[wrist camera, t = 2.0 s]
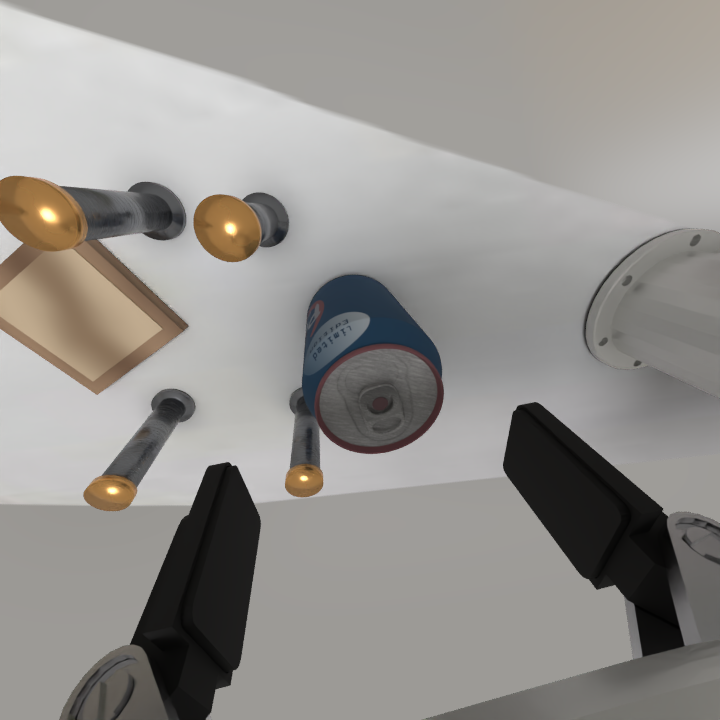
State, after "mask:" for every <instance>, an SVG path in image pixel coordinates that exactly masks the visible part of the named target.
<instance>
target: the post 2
mask: <svg viewBox="0 0 720 720" xmlns="http://www.w3.org/2000/svg"><path fill="white" fill-rule="evenodd" d="M151 406H152V410H153V412H152V413H151V415H150V416H149V417H148V418H147V420H146V421H145V422H144V423H143V425H142V426H141V427H140V428H139V430H138V431H137V432H136V433H135V435H134V436H133V437H132V438H131V440H130V441H129V442H128V443H127V445H126V446H125V447H124V448H123V450H122V451H121V452H120V453H119V455H118V456H117V457H116V458H115V460H114V461H113V462H112V463H111V465H110V466H109V467H108V468H107V470H106V471H105V472H104V473H103V475H102V476H99V477H97V478H95V479H94V480H93V481H92V482H91V484H90V485H89V486H88V487H87V488H86V490H85V491H84V495H83V496H84V499H85V501H86V502H87V503H88V504H90V505H91V506H93V507H95V508H97V509H100V510H104V511H119V510H123V509H125V508H127V507H128V506H129V505H130V504H131V502H132V501H133V499H134V498H135V496H136V494H137V486H138V485H139V483H140V482H141V480H142V478H143V477H144V475H145V474H146V472H147V471H148V469H149V468H150V466H151V464H152V463H153V461H154V460H155V458H156V457H157V455H158V454H159V452H160V450H161V449H162V447H163V446H164V444H165V443H166V441H167V440H168V438H169V436H170V435H171V433H172V432H173V430H174V429H175V427H176V425H177V424H178V422H183V421H186V420H188V419H189V418H190V417H191V416H192V414H193V413H194V411H195V403H194V401H193V399H192V398H191V397H190V396H189V395H188V394H186V393H184V392H182V391H180V390H175V389H167V390H163V391H160V392H159V393H158V394H157V395H156V396H155V397H154V398H153V400H152V403H151Z"/></svg>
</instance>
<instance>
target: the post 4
mask: <svg viewBox="0 0 720 720" xmlns="http://www.w3.org/2000/svg"><path fill="white" fill-rule="evenodd" d="M290 408H291V410H292V412H293V413H294V414H295V423H294V433H293V443H292V453H291V463H290V470H289V471H288V472H287V474H286V481H285V488H286V490H287V491H288V492H289V493H290V494H291V495H293V496H297V497H309V496H312V495H315V494H316V493H318V492H319V491H320V490H321V489H322V487H323V473H322V471H321V469H320V441H319V425H318V422H317V419H316V418H315V417H314V416H313V415H312V413H311V412H310V410H309V408H308V407H307V405H306V402H305V399H304V396H303V391H302V388H300V389H298V390H296V391H295V392H294V393H293V394H292V396H291V398H290Z"/></svg>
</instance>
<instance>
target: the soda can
mask: <svg viewBox="0 0 720 720" xmlns="http://www.w3.org/2000/svg"><path fill="white" fill-rule="evenodd" d="M441 379H442V366H441V360H440V356H439V353H438V351H437V349H436V347H435V345H434V344H433V342H432V341H431V339H430V338H429V337H428V336H427V335H426V334H425V332H424V331H423V330H422V329H421V328H420V327H419V325H418V324H417V323H416V322H415V321H414V320H413V319H412V317H411V316H410V315H409V314H408V313H407V312H406V310H405V309H404V308H403V307H402V306H401V305H400V303H399V302H398V301H397V300H396V299H395V298H394V296H393V295H392V294H391V293H390V292H389V291H388V290H387V288H386V287H384V286H383V285H382V284H381V283H379V282H378V281H376V280H374V279H372V278H369V277H366V276H361V275H347V276H342V277H339V278H336V279H334V280H332V281H330V282H328V283H327V284H325V285H324V286H323V287H322V288H321V289H320V290H319V291H318V292H317V293H316V294H315V296H314V297H313V299H312V301H311V303H310V306H309V309H308V313H307V324H306V337H305V351H304V364H303V377H302V391H303V396H304V399H305V402H306V405H307V407H308V408H309V410H310V412H311V413H312V415H313V416H314V417H315V418H316V419H317V422H318V425H319V426H320V428H321V430H322V431H323V433H324V434H325V435H326V436H327V437H328V438H329V439H330V440H331V441H332V442H334V443H335V444H337V445H338V446H340V447H342V448H344V449H347V450H350V451H353V452H357V453H365V454H377V453H385V452H390V451H393V450H396V449H399V448H402V447H404V446H406V445H408V444H410V443H412V442H413V441H415V440H416V439H418V438H419V437H421V436H422V435H423V434H424V433H425V432H426V431H427V430H428V429H429V428H430V427H431V426H432V424H433V423H434V422H435V420H436V418H437V416H438V415H439V412H440V410H441V407H442V403H443V396H444V389H443V383H442V380H441Z"/></svg>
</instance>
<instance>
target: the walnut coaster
mask: <svg viewBox="0 0 720 720" xmlns="http://www.w3.org/2000/svg"><path fill="white" fill-rule="evenodd" d="M187 327H188V325H187V324H186V323H185V322H184V321H183V320H182V319H180V318H179V317H178V316H177V315H176V314H175V313H174V312H173V311H172V310H171V309H170V308H169V307H168V306H167V305H166V304H165V303H163V302H162V301H161V300H160V299H159V298H158V297H157V296H156V295H155V294H154V293H153V292H152V291H151V290H150V289H149V288H148V287H146V286H145V285H144V284H143V283H142V282H141V281H140V280H139V279H138V278H137V277H136V276H135V275H134V274H133V273H132V272H130V271H129V270H128V269H127V268H126V267H125V266H124V265H123V264H122V263H121V262H120V261H119V260H118V259H117V258H116V257H115V256H113V255H112V254H111V253H110V252H109V251H108V250H107V249H106V248H105V247H104V246H103V245H102V244H101V243H100V242H99V241H98V240H89V241H84V242H83V243H82V244H80V245H79V246H78V247H75V248H72V249H68V250H62V251H55V252H49V251H43V250H39V249H36V248H33V247H31V246H28V245H27V244H25V243H23V244H22V245H21V246H20V247H19V248H18V249H17V250H16V251H15V252H14V253H12V254H11V255H10V256H9V257H8V258H7V259H6V260H5V261H4V262H3V263H2V264H0V329H1V330H3V331H4V332H6V333H7V334H9V335H10V336H12V337H13V338H15V339H16V340H17V341H19V342H20V343H22V344H23V345H25V346H26V347H28V348H29V349H31V350H32V351H34V352H35V353H37V354H38V355H39V356H41V357H42V358H44V359H45V360H47V361H48V362H50V363H51V364H53V365H54V366H56V367H57V368H59V369H60V370H61V371H63V372H64V373H66V374H67V375H69V376H70V377H72V378H73V379H75V380H76V381H78V382H79V383H80V384H82V385H83V386H85V387H86V388H88V389H89V390H91V391H92V392H94V393H95V394H97V395H98V394H99V393H100V392H102V391H103V390H104V389H106V388H107V387H108V386H110V385H111V384H112V383H114V382H115V381H116V380H118V379H119V378H121V377H122V376H123V375H125V374H126V373H127V372H129V371H130V370H131V369H133V368H134V367H135V366H137V365H138V364H139V363H141V362H142V361H143V360H145V359H146V358H147V357H149V356H150V355H152V354H153V353H154V352H156V351H157V350H158V349H160V348H161V347H162V346H164V345H165V344H166V343H168V342H169V341H170V340H172V339H173V338H174V337H176V336H177V335H178V334H180V333H181V332H182V331H184V330H185V329H186V328H187Z"/></svg>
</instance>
